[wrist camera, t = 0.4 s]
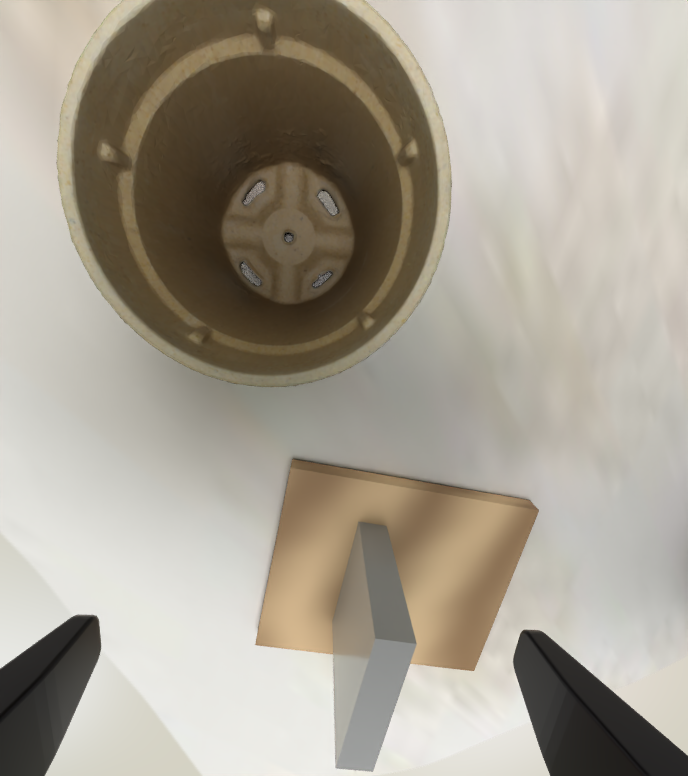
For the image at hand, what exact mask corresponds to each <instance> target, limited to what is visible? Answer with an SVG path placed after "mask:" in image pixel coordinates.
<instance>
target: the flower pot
mask: <svg viewBox="0 0 688 776" xmlns="http://www.w3.org/2000/svg"><path fill="white" fill-rule="evenodd" d="M57 141H58V151H57V162H56V163H57V169H58V181H59V187H60V193H61V200H62V206H63V209H64V213H65V217H66V220H67V223H68V226H69V230H70V235H71V239H72V242H73V243H74V245H75V247H76V250H77V252H78V253H79V256H80V258H81V260H82V262H83V264H84V266H85V268H86V270H87V272H88V273H89V276H90V278H91V279H92V280H93V282H94V284H95V285H96V287H97V289H98V290H99V291H100V292H101V294H102V296H103V297H104V298H105V299H106V300H107V302H108V303H109V304H110V305H111V306H112V308H113V309H114V310H115V311H116V312H117V314H118V315H119V316H120V318H121V319H123V321H124V322H125V323H126V324H128V325H129V326H130V327H131V328H132V329H133V330H134V331H135V332H136V333H138V334H139V335H140V336H141V337H143V338H144V339H145V340H146V341H147V342H148V343H150V344H151V345H152V346H154V347H155V348H157V349H158V350H159V351H161V352H162V353H163V354H165V355H167V356H168V357H170V358H172V359H174V360H175V361H177V362H179V363H181V364H183V365H184V366H186V367H188V368H190V369H192V370H195V371H197V372H200V373H202V374H204V375H208V376H210V377H213V378H217V379H220V380H224V381H227V382H230V383H235V384H243V385H249V386H260V387H286V386H296V385H300V384H305V383H310V382H314V381H318V380H322V379H324V378H327V377H330V376H333V375H335V374H337V373H341V372H342V371H344V370H346V369H348V368H350V367H352V366H354V365H355V364H357V363H359V362H361V361H363V360H364V359H366V358H368V357H369V356H370V355H371V354H372V353H374V352H375V351H376V350H378V349H379V348H380V347H381V346H383V345H384V344H385V343H386V342H387V341H388V340H389V339H390V338H391V337H392V335H394V334H395V333H396V332H397V331H398V330H399V328H400V327H401V326H402V325H403V324H404V323H405V322H406V321H407V319H408V318H409V317H410V315H411V314H412V313H413V311H414V310H415V308H416V307H417V306H418V304H419V303H420V302H421V300H422V298H423V296H424V294H425V292H426V290H427V288H428V287H429V285H430V283H431V280H432V277H433V275H434V273H435V271H436V269H437V265H438V263H439V260H440V257H441V254H442V251H443V248H444V243H445V242H444V240H445V238H446V234H447V229H448V226H449V218H450V209H451V187H452V181H451V165H450V156H449V149H448V141H447V136H446V132H445V128H444V125H443V120H442V117H441V115H440V113H439V108H438V105H437V103H436V100H435V98H434V95H433V92H432V89H431V87H430V84H429V83H428V81H427V79H426V77H425V75H424V73H423V71H422V69H421V67H420V66H419V64H418V62H417V60H416V59H415V57H414V56H413V54H412V53H411V51H410V50H409V48H408V46H407V45H406V44H405V43H404V42H403V40H401V38H400V36H399V35H398V34H397V33H396V32H395V30H394V29H393V28H392V27H391V25H390V24H389V23H388V22H387V21H386V20H385V19H384V18H383V17H382V16H381V15H380V14H379V13H378V12H377V11H376V10H375V9H374V8H373V7H371V6H370V5H369V4H368V3H367V2H366V1H365V0H122V1H121V3H120V4H118V5H117V6H116V7H115V8H114V9H113V10H112V11H111V12H110V13H109V14H108V16H107V17H106V18H105V19H104V20H103V22H102V24H101V25H100V27H99V28H98V29H97V30H96V31H95V32H94V34H93V36H92V37H91V39H90V41H89V43H88V44H87V46H86V47H85V49H84V51H83V53H82V54H81V56H80V58H79V60H78V61H77V63H76V65H75V68H74V71H73V73H72V77H71V79H70V81H69V84H68V88H67V93H66V96H65V98H64V101H63V104H62V107H61V113H60V129H59V136H58V140H57ZM259 181H263V182H264V183H265V190H264V191H263V192H262V193H260V194H259V195H257V196H256V197H255V198H254V199H253V200H252V201H251V202H250V203H249V204H248V205H245V204H243V203H242V202H243V200H244V199H245V197H246V194H247V193H248V192H249V191H250V189H251V188H252V187H253V186H254V185H255V184H256V183H257V182H259ZM321 190H325V191H327V192H328V193H329V194H330V195H331V197H332V199H333V200H334V203H335V205H336V206H337V207H338V211H339V213H338V214H336V215H335V216H332V215H331V214H330V213H329V211H328V210H327V209H326V208H325V206H324V204H323V203H322V202H321V201H320V199H319V198H317V195H318V193H319V192H320V191H321ZM287 232H289V233H292V234H293V240H292V241H291V242H286V241H285V240H284V235H285V233H287ZM242 262H245V263H246V265H247V266H248V267H249V268H250V269H251V270H252V272H253V273H254V274H255V275H256V276H257V277H258V278H259V279H260V280H261V281H262V282H261V285H259V286H256V285H255V284H253V283H251V282H250V281H249V280H248V279H247V278H246V277H245V276H244V275H243V273H242V271H241V263H242ZM327 271H330V272H332V275H331V276H330V277H329V279H327V280H326V281H325V282H324V283H323V284H322V285H321V286H319V287H313V286H312V284H313V283H315V282H316V281H317V280H318V279H319V275H320V276H321V275H324V274H325V273H327Z"/></svg>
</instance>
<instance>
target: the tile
mask: <svg viewBox="0 0 688 776" xmlns="http://www.w3.org/2000/svg"><path fill="white" fill-rule="evenodd" d="M332 633H333V676H334V719H335V763H336V768H337V769H349V770H360V771H372V772H373V770H374V767H375V764H376V761H377V758H378V755H379V752H380V749H381V746H382V744H383V741H384V738H385V735H386V732H387V729H388V726H389V723H390V720H391V717H392V715H393V712H394V709H395V706H396V703H397V700H398V697H399V694H400V691H401V688H402V685H403V683H404V680H405V677H406V674H407V671H408V668H409V665H410V662H411V659H412V656H413V654H414V651H415V648H416V645H417V643H416V639H415V635H414V631H413V627H412V623H411V619H410V615H409V611H408V607H407V604H406V600H405V596H404V592H403V588H402V584H401V580H400V576H399V572H398V568H397V564H396V560H395V557H394V553H393V549H392V545H391V541H390V537H389V533H388V529H387V526H384V525H378V524H372V523H366V522H359V521H358V525H357V529H356V533H355V537H354V540H353V544H352V548H351V552H350V556H349V559H348V563H347V567H346V571H345V575H344V578H343V582H342V586H341V590H340V594H339V597H338V601H337V605H336V609H335V613H334V616H333V620H332Z"/></svg>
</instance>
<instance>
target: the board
mask: <svg viewBox="0 0 688 776" xmlns="http://www.w3.org/2000/svg"><path fill="white" fill-rule="evenodd" d="M538 512H539V510H538V509H537V508H536V507H535V506H534V505H533V503H532V502H531V501H530V500H525V499H519V498H513V497H507V496H502V495H496V494H490V493H484V492H479V491H473V490H467V489H461V488H456V487H450V486H444V485H438V484H433V483H427V482H421V481H415V480H410V479H404V478H398V477H393V476H387V475H381V474H375V473H370V472H364V471H358V470H352V469H347V468H341V467H335V466H329V465H324V464H318V463H312V462H306V461H301V460H295V459H292V463H291V468H290V473H289V478H288V483H287V488H286V493H285V498H284V503H283V508H282V513H281V518H280V523H279V528H278V533H277V538H276V543H275V548H274V553H273V558H272V563H271V568H270V573H269V578H268V583H267V588H266V593H265V598H264V603H263V608H262V613H261V618H260V623H259V628H258V633H257V639H256V644H255V645H259V646H268V647H276V648H284V649H293V650H301V651H309V652H318V653H326V654H333V633H332V620H333V616H334V613H335V609H336V605H337V601H338V597H339V594H340V590H341V586H342V582H343V578H344V575H345V571H346V567H347V563H348V559H349V556H350V552H351V548H352V544H353V540H354V537H355V533H356V529H357V525H358V521H359V522H366V523H372V524H378V525H384V526H387V529H388V533H389V537H390V541H391V545H392V549H393V553H394V557H395V560H396V564H397V568H398V572H399V576H400V580H401V584H402V588H403V592H404V596H405V600H406V604H407V607H408V611H409V615H410V619H411V623H412V627H413V631H414V635H415V639H416V643H417V645H416V648H415V651H414V654H413V656H412V659H411V662H410V664H418V665H427V666H435V667H443V668H452V669H460V670H469V671H474V670H475V667H476V665H477V662H478V660H479V657H480V655H481V652H482V650H483V647H484V645H485V642H486V640H487V638H488V635H489V633H490V630H491V628H492V625H493V623H494V620H495V618H496V615H497V613H498V610H499V608H500V605H501V603H502V600H503V598H504V596H505V593H506V591H507V588H508V586H509V583H510V581H511V578H512V576H513V573H514V571H515V568H516V566H517V563H518V561H519V559H520V556H521V554H522V551H523V549H524V546H525V544H526V541H527V539H528V536H529V534H530V531H531V529H532V526H533V524H534V522H535V519H536V517H537V514H538Z"/></svg>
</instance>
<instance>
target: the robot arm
mask: <svg viewBox="0 0 688 776" xmlns="http://www.w3.org/2000/svg"><path fill="white" fill-rule="evenodd" d="M100 651H101V638H100V627H99V619H98V617H97V616H95V615H75V616H73V617H71V618H70V619H68V620H67V621H66V622H64V623H63V624H62V625H60V626H59V627H57V628H56V629H55V630H53V631H52V632H50V633H49V634H48V635H46V636H45V637H43V638H42V639H41V640H39V641H38V642H37V643H35V644H34V645H32V646H31V647H30V648H28V649H27V650H26V651H24V652H23V653H21V654H20V655H19V656H17V657H16V658H15V659H13V660H12V661H10V662H9V663H7V664H6V665H5V666H3V667H2V668H1V669H0V776H45V774H46V772H47V770H48V768H49V766H50V765H51V763H52V761H53V759H54V757H55V755H56V753H57V751H58V748H59V746H60V744H61V742H62V740H63V738H64V735H65V733H66V731H67V729H68V726H69V724H70V722H71V720H72V717H73V715H74V713H75V711H76V708H77V706H78V704H79V701H80V699H81V697H82V695H83V692H84V690H85V688H86V686H87V683H88V681H89V679H90V677H91V674H92V672H93V670H94V668H95V665H96V663H97V661H98V658H99V655H100ZM513 663H514V669H515V673H516V676H517V679H518V682H519V685H520V688H521V691H522V695H523V698H524V701H525V704H526V707H527V710H528V713H529V716H530V719H531V722H532V725H533V728H534V731H535V735H536V738H537V741H538V744H539V747H540V750H541V752H542V755H543V758H544V761H545V763H546V766H547V768H548V771H549V773H550V776H688V756H687V755H686V754H685V753H684V752H683V751H681V750H680V749H679V748H678V747H677V746H676V745H674V744H673V743H672V742H671V741H670V740H669V739H668V738H666V737H665V736H664V735H663V734H662V733H661V732H659V731H658V730H657V729H656V728H655V727H654V726H652V725H651V724H650V723H649V722H648V721H647V720H645V719H644V718H643V717H642V716H640V714H638V713H637V712H636V711H635V710H634V709H633V708H631V707H630V706H629V705H628V704H627V703H625V702H624V701H623V700H622V699H621V698H620V697H619V696H617V695H616V694H615V693H614V692H613V691H612V690H610V689H609V688H608V687H607V686H606V685H605V684H603V683H602V682H601V681H600V680H599V679H598V678H596V677H595V676H594V675H593V674H592V673H591V672H589V671H588V670H587V669H586V668H585V667H584V666H582V665H581V664H580V663H579V662H578V661H577V660H575V659H574V658H573V657H572V656H571V655H570V654H568V653H567V652H566V651H565V650H564V649H563V648H561V647H560V646H559V645H558V644H557V643H556V642H554V641H553V640H552V639H551V638H550V637H549V636H547V635H546V634H545V633H544V632H542V631H539V630H523V631H522V632H521V634H520V637H519V640H518V644H517V647H516V650H515V654H514V659H513Z"/></svg>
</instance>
